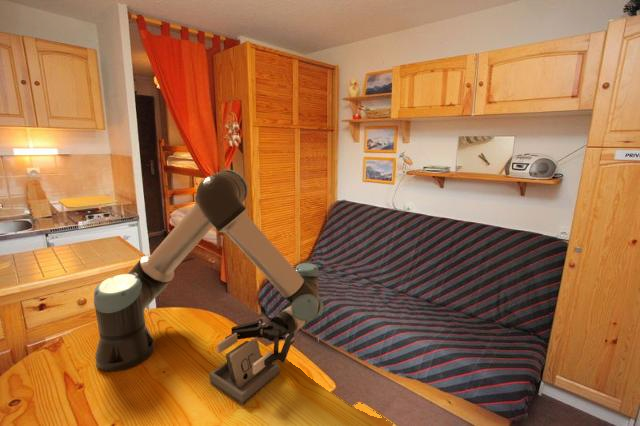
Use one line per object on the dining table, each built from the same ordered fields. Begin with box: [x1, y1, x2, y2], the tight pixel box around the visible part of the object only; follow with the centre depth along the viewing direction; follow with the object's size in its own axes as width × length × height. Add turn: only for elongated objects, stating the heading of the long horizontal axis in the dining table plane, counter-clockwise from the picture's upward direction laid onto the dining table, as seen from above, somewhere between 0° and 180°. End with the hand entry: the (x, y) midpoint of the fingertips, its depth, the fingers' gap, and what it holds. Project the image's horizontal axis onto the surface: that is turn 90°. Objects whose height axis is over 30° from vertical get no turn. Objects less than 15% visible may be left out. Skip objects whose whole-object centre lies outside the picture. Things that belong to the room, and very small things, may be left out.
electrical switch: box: [225, 338, 263, 388], centre depth 89 cm, size 9×5×9 cm, turn 146°
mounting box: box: [209, 354, 280, 406], centre depth 90 cm, size 13×14×3 cm
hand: (234, 358), depth 85 cm, fingers open, 13 cm apart
